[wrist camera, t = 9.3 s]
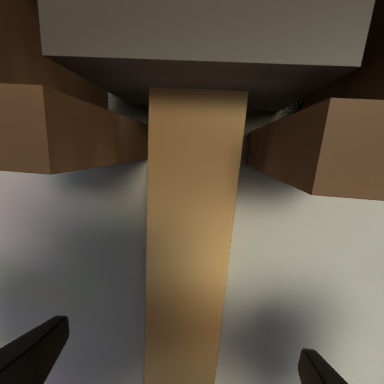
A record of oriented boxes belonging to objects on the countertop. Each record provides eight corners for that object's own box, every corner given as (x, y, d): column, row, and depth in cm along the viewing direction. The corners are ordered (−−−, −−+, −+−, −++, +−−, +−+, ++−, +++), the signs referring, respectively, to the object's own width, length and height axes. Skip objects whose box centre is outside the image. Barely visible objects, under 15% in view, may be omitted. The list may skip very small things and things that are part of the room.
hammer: (231, 415, 13) (245, 582, 8) (131, 399, 13) (84, 547, 8) (280, 81, 8) (376, -8, 4) (131, 75, 9) (36, -12, 4)
